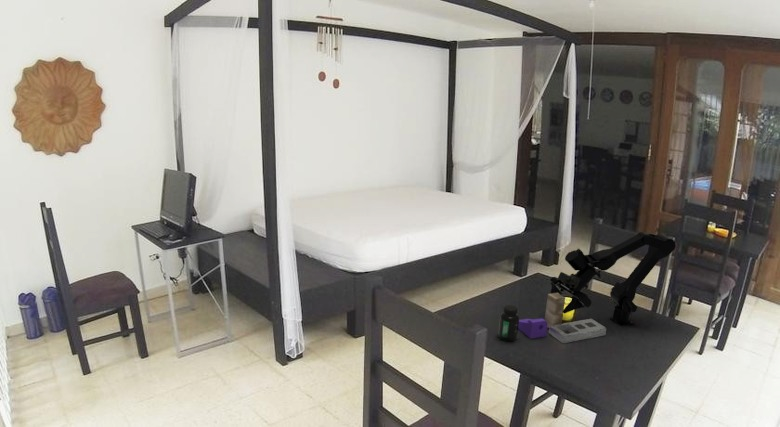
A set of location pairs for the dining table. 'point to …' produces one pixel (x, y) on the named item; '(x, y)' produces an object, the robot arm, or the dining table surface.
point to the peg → (554, 309)
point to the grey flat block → (577, 330)
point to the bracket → (533, 327)
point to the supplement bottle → (508, 324)
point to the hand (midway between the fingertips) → (555, 307)
